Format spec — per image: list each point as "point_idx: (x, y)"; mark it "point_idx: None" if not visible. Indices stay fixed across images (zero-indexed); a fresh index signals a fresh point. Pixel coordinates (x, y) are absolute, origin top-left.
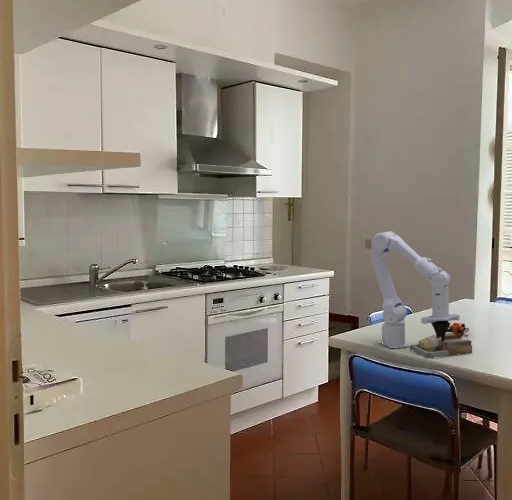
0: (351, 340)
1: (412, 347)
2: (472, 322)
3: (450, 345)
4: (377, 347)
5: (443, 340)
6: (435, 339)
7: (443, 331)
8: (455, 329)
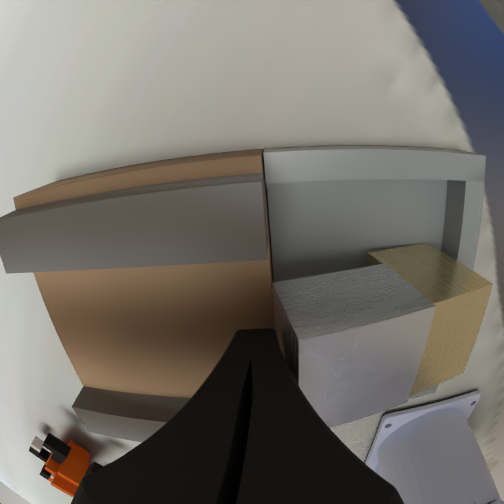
0: None
1: None
2: (37, 475)
3: (224, 179)
4: (489, 412)
5: (239, 334)
6: (385, 316)
7: (237, 418)
8: (73, 466)
